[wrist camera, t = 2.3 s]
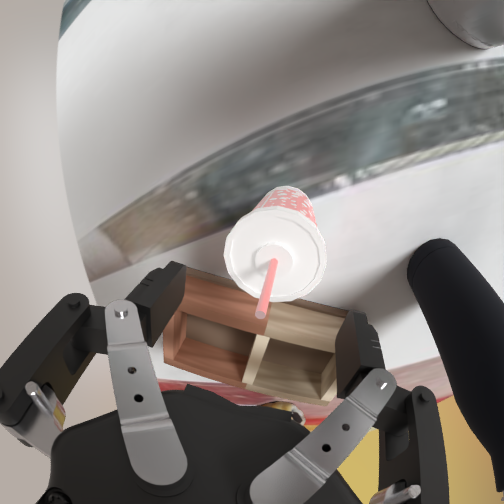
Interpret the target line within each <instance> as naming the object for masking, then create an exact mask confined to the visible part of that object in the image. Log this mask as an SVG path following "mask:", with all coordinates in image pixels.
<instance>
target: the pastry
mask: <svg viewBox="0 0 504 504" xmlns="http://www.w3.org/2000/svg"><path fill="white" fill-rule="evenodd" d="M261 406H267V407H272V408H277V409H281V410H286V411H291V412H292V416H291V419H292V420H295V421H296V422H298V423H300V424H301V425H304V423H305V420H306V419H305V417H304V415H303V412H302V411H301V410H299V409H298V408H297V407H296V406H295V405H294V404H291V403H288V402H283V401H282V402H276V403H267V404H264V405H261Z"/></svg>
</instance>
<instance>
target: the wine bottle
mask: <svg viewBox="0 0 504 504" xmlns="http://www.w3.org/2000/svg"><path fill="white" fill-rule="evenodd" d="M407 278H408V281H409V284H410V286H411V289H412V291H413V293H414V295H415V297H416V299H417V301H418V303H419V305H420V308H421V310H422V312H423V314H424V317H425V319H426V321H427V324H428V326H429V328H430V331H431V333H432V335H433V338H434V340H435V343H436V345H437V348H438V351H439V353H440V356H441V359H442V361H443V364H444V367H445V370H446V373H447V376H448V379H449V382H450V385H451V388H452V391H453V394H454V397H455V400H456V403H457V405H458V407H459V409H460V411H461V413H462V414H463V416H464V418H465V420H466V422H467V424H468V425H469V427H470V429H471V430H472V431H473V433H474V434H475V435H476V437H477V438H478V440H479V441H480V442H481V444H482V445H483V446H484V448H485V449H486V450H487V452H488V453H489V454H490V456H491V460H492V465H493V470H494V476H495V483H496V489H497V492H502V491H503V495H504V303H503V301H502V300H501V299H500V297H499V296H498V295H497V293H496V292H495V291H494V289H493V288H492V287H491V286H490V284H489V283H488V282H487V281H486V279H485V278H484V277H483V276H482V275H481V273H480V272H479V271H478V270H477V269H476V267H475V266H474V265H473V264H472V263H471V262H470V261H469V259H468V258H467V257H466V256H465V255H464V254H463V253H462V252H461V251H460V249H459V248H458V247H457V246H456V245H455V244H454V243H452V242H451V241H449V240H446V239H441V238H439V239H434V240H430V241H428V242H427V243H425V244H423V245H422V246H421V247H420V248H419V249H418V250H417V251H415V253H414V255H413V256H412V258H411V259H410V262H409V265H408V269H407ZM501 500H502V501H504V497H502V499H501Z"/></svg>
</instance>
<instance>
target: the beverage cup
mask: <svg viewBox="0 0 504 504" xmlns="http://www.w3.org/2000/svg"><path fill="white" fill-rule="evenodd" d="M224 259H225V263H226V267H227V270H228V273H229V274H230V276H231V277H232V279H233V280H234V281H235V283H236V284H237V285H238V287H240V288H241V289H243V290H244V291H246V292H247V293H249V294H250V295H252V296H253V297H255V298H259V302H258V305H257V309H256V312H255V316H256V317H257V318H258V319H264V318H265V316H266V312H267V308H268V304H269V301H270V302H285V301H293V300H295V299H297V298H300V297H302V296H304V295H307V294H308V293H309V292H310V291H311V290H313V289H314V288H315V287H316V286H317V285H318V284H319V283H320V282H321V279H322V277H323V274H324V271H325V269H326V266H327V258H326V246H325V242H324V239H323V237H322V235H321V233H320V232H319V230H318V228H317V224H316V220H315V216H314V212H313V207H312V204H311V202H310V200H309V198H308V197H307V195H306V194H305V193H303V192H302V191H301V190H299V189H298V188H294V187H290V186H282V187H276V188H275V189H273V190H271V191H270V192H268V193H267V194H266V195H265V197H264V198H263V199H262V200H261V201H260V202H259V204H258V205H257V206H256V207H255V208H254V209H253V211H252V212H250V213H248V214H247V215H245V216H243V217H242V218H240V220H239V221H238V222H237V223H236V225H235V226H234V228H233V229H232V230H231V232H230V233H229V235H228V236H227V238H226V243H225V249H224Z"/></svg>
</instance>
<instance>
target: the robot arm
mask: <svg viewBox="0 0 504 504" xmlns="http://www.w3.org/2000/svg"><path fill="white" fill-rule="evenodd" d="M427 1H428V3H429V5H430V6H431V8H432V10H433V12H434V13H435V14H436V16H437V17H438V18H439V20H440V21H441V22H442V23H443V24H444V25H445V26H446V27H447V28H448V29H449V30H450V31H451V32H452V33H453V34H454V35H456V36H457V37H458V38H460V39H461V40H463V41H464V42H466V43H468V44H470V45H472V46H474V47H477V48H482V49H488V48H493V47H497V46H501V45H504V0H427ZM186 270H187V267H186V265H184V264H180V263H177V262H174V261H170V262H169V264H168V265H167V266H166V267H165V268H164V269H162V268H157V269H155V270H153V271H151V272H149V273H148V275H147V276H146V277H145V278H144V279H143V280H142V281H141V282H140V284H138V285H137V286H136V287H135V289H134V290H133V291H132V292H131V293H130V294H129V295H128V296H127V297H126V298H125V299H124V300H115V301H113V302H111V303H109V304H108V305H107V306H106V307H101V306H94V305H89V300H88V298H87V297H86V296H85V295H83V294H80V293H72V294H68V295H66V296H65V297H63V298H62V299H61V300H60V301H59V302H58V303H57V304H56V306H55V307H54V308H53V309H52V310H51V311H50V312H49V313H48V314H47V315H46V316H45V317H44V318H43V319H42V320H41V322H40V323H39V324H38V325H37V326H36V327H35V328H34V329H33V330H32V331H31V333H30V334H29V335H28V336H27V337H26V338H25V339H24V341H23V342H22V343H21V344H20V345H19V346H18V347H17V349H16V350H15V351H14V352H13V353H12V355H11V356H10V357H9V358H8V360H7V361H6V362H5V363H4V365H3V366H2V367H1V368H0V424H1V425H2V426H3V427H5V428H6V430H7V431H8V432H10V433H11V434H12V435H13V436H14V437H16V438H17V439H18V440H19V441H20V442H22V443H23V444H24V445H26V446H28V447H34V448H36V449H37V450H39V451H40V452H41V453H43V454H44V455H46V456H47V457H49V458H50V459H51V474H50V480H49V485H48V488H47V490H46V492H45V493H44V494H43V495H42V497H41V498H40V499H39V500H38V501H37V502H36V504H362V502H361V501H360V500H359V498H358V497H357V496H356V494H355V493H354V492H353V491H352V489H351V488H350V486H349V485H348V484H347V482H346V481H345V480H344V478H343V477H342V476H341V474H340V473H339V472H338V470H337V468H338V467H339V466H340V465H341V464H342V462H343V461H344V460H345V459H346V458H347V457H348V456H349V454H350V453H351V452H352V451H353V450H354V449H355V447H356V446H357V445H358V444H359V442H360V441H361V440H362V439H363V437H364V436H365V435H366V434H367V432H368V431H369V430H370V428H371V427H374V428H377V429H379V487H378V492H377V493H376V494H374V495H373V497H372V498H371V500H370V502H369V504H449V486H448V485H449V484H448V472H447V463H446V454H445V447H444V440H443V433H442V427H441V422H440V417H439V412H438V407H437V402H436V398H435V396H434V394H433V392H432V391H431V390H430V389H428V388H427V387H424V386H417V387H415V388H414V389H413V390H412V391H408V390H406V389H403V388H401V387H399V386H397V383H396V380H395V378H394V376H393V375H392V374H391V373H390V372H388V371H387V370H386V369H385V364H384V360H383V355H382V351H381V349H380V348H381V346H380V343H379V338H378V333H377V332H376V330H375V329H374V327H373V326H372V325H369V324H368V322H367V318H366V314H365V313H362V312H358V311H354V310H350V311H349V312H348V314H347V316H346V318H345V320H344V322H343V324H342V326H341V327H340V329H339V331H338V333H337V336H336V340H335V357H336V380H337V398H341V399H345V400H344V401H343V402H342V403H341V404H340V405H339V406H338V407H337V408H336V409H335V410H334V411H333V412H332V413H331V414H330V415H329V416H328V417H327V418H326V419H325V420H324V421H323V422H322V423H321V424H320V425H319V426H317V427H316V428H315V429H314V430H313V431H312V432H310V431H309V430H308V429H306V428H305V427H304V426H303V425H301V424H300V423H298V422H296V421H295V420H292V419H291V416H292V412H291V411H286V410H281V409H277V408H272V407H267V406H240V405H236V404H234V403H232V402H230V401H228V400H227V399H225V398H223V397H221V396H219V395H217V394H215V393H214V392H211V391H208V390H205V389H202V388H199V387H196V386H193V385H190V384H187V386H186V388H185V390H167V391H162V392H161V391H160V388H159V385H158V381H157V378H156V375H155V371H154V368H153V365H152V361H151V357H150V354H149V350H148V346H150V347H153V346H154V344H155V343H156V341H157V340H158V338H159V336H160V335H161V333H162V332H163V330H164V329H165V327H166V325H167V324H168V322H169V321H170V319H171V318H172V316H173V315H174V313H175V312H176V310H177V308H178V307H179V305H180V304H181V302H182V300H183V297H184V293H185V282H186ZM96 353H100V354H107V355H108V358H109V364H110V371H111V377H112V383H113V389H114V394H115V399H116V404H117V410H115V411H112V412H110V413H107V414H104V415H102V416H99V417H97V418H94V419H91V420H88V421H85V422H83V423H80V424H77V425H74V426H71V427H69V428H67V429H65V430H63V424H64V421H65V417H66V414H65V410H64V408H63V404H64V402H65V401H66V399H67V397H68V396H69V394H70V393H71V391H72V389H73V388H74V386H75V385H76V383H77V381H78V380H79V378H80V377H81V375H82V374H83V372H84V371H85V369H86V367H87V366H88V365H89V363H90V362H91V360H92V359H93V357H94V356H95V354H96ZM408 431H409V433H408Z"/></svg>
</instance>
